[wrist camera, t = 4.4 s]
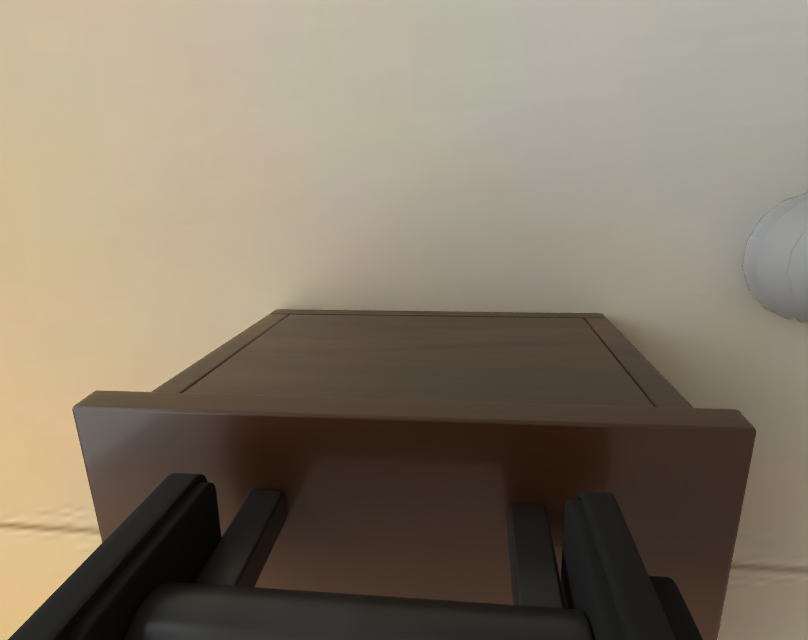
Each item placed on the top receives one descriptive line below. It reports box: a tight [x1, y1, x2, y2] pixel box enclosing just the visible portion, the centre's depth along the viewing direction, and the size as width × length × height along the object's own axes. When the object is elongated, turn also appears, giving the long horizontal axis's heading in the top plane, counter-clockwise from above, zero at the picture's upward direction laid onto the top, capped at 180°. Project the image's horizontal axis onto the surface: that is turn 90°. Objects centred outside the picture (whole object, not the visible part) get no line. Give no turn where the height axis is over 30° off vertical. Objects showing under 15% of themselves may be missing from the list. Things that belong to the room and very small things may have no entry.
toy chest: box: [152, 310, 694, 408], centre depth 20 cm, size 16×13×10 cm
